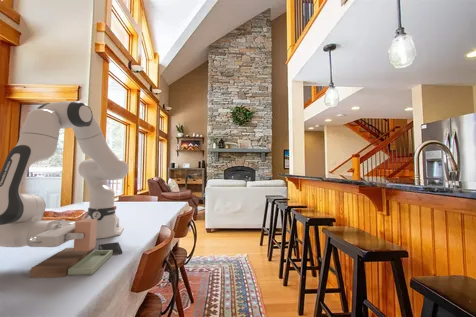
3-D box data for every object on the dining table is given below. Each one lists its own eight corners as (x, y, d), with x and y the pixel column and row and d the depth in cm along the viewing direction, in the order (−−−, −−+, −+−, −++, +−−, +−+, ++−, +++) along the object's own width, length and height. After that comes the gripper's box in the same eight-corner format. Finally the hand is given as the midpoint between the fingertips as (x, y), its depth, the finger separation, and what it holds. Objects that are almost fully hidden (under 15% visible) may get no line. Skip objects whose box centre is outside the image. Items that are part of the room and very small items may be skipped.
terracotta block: (81, 246, 87) (82, 218, 88) (95, 246, 88) (97, 218, 89) (73, 251, 82) (75, 222, 83) (89, 250, 83) (90, 221, 84)
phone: (100, 255, 92) (98, 244, 104) (100, 258, 92) (98, 247, 104) (123, 251, 96) (118, 241, 109) (122, 254, 96) (118, 244, 109)
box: (93, 255, 93) (93, 250, 93) (112, 255, 94) (112, 249, 94) (67, 275, 76) (67, 269, 76) (91, 275, 76) (91, 268, 77)
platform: (65, 255, 92) (66, 247, 93) (93, 255, 94) (93, 247, 94) (30, 277, 74) (30, 268, 74) (65, 276, 75) (66, 266, 75)
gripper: (24, 232, 74) (73, 231, 75) (63, 218, 94) (101, 218, 96) (23, 253, 73) (72, 252, 75) (62, 234, 94) (100, 234, 95)
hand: (88, 233), depth 86 cm, fingers closed on terracotta block, 5 cm apart
